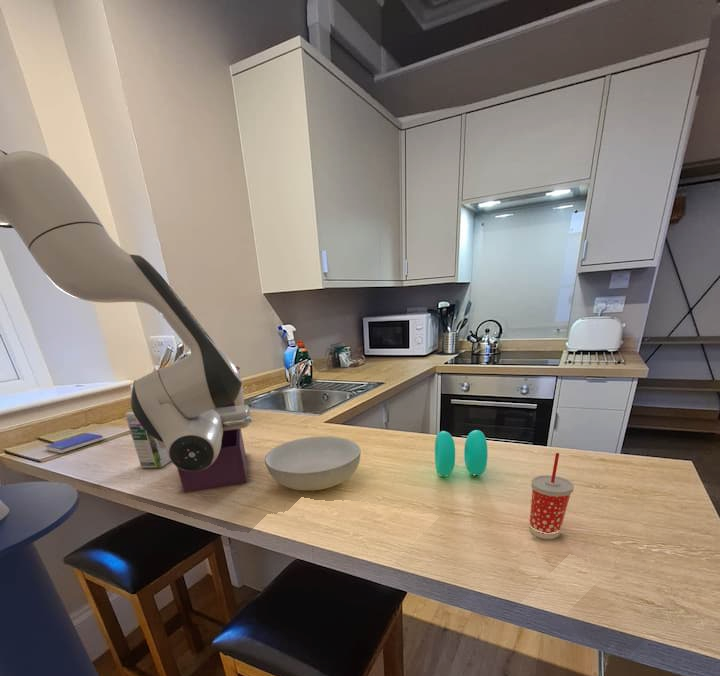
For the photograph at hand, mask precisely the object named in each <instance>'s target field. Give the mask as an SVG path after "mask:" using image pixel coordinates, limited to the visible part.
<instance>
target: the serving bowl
mask: <svg viewBox="0 0 720 676" xmlns="http://www.w3.org/2000/svg"><path fill="white" fill-rule="evenodd" d="M361 451H362V450H361V447H360V445H359V444H358V443H357V442H355V441H353V440H351V439H348V438H343V437H338V436H310V437H302V438H297V439H294V440H290V441H287V442H284V443H282V444H279V445H277V446H276V447H274V448H272V449H270V450H269V451H268V452H267V453H266V455H265V457H264V464H265V466H266V470H267V472H268V473H269V474H270V476H271V478H273V480H275V481H276V482H277V483H278V484H280V485H282V486H283V487H286V488H287V489H288V488H289V489H292V490H298V491H306V492H307V491H308V492H309V491H320V490H325V489H329V488H333V487H335V486H337V485H340V484H341V483H343V482H345V481H347V480H348V479H349V478H350V477H351V476H353V474H354V473H355V472H356V470H357V469H358V466H359V464H360V460H361V453H362V452H361Z"/></svg>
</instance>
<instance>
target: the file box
mask: <svg viewBox="0 0 720 676" xmlns="http://www.w3.org/2000/svg"><path fill="white" fill-rule="evenodd" d="M176 469H177V472H178V476H179V479H180V484H181V486H182V491H183V492H184V493H187V492H193V491H200V490H205V489H213V488H218V487H224V486H231V485H238V484H244V483H248V475H247V473H248V472H247V454H246V449H245V444H244V439H243V433H242V429H234V430H226V431H223V436H222V444H221V449H220V453H219V455H218V457H217V459H216V460H215V462H214V463H213V464H212V465H211V466H209V467H208V468H206V469H204V470H201V471H185V470H182V469H180V468H178V467H176Z"/></svg>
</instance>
